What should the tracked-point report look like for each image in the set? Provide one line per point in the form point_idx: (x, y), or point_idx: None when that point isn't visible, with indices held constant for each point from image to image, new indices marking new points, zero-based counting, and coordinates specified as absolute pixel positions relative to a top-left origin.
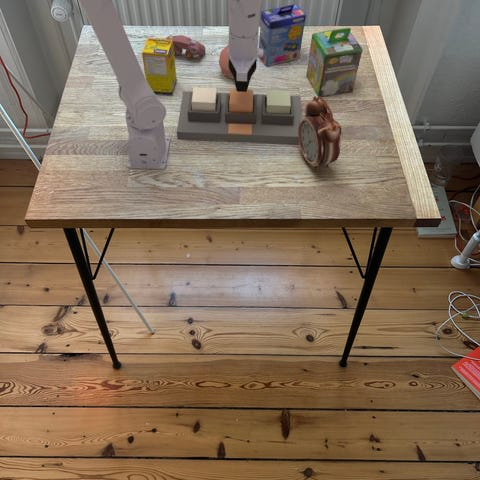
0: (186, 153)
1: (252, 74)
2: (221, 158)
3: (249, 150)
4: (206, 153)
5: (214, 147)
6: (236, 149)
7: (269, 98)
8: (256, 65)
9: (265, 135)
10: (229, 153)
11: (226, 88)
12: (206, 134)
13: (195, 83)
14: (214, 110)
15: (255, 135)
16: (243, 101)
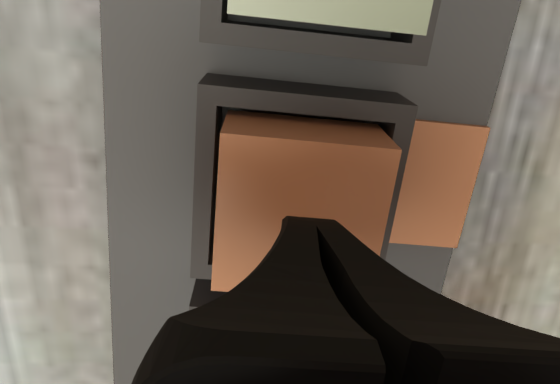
0: None
1: (485, 314)
2: (543, 254)
3: (523, 127)
4: (496, 309)
5: (466, 279)
6: (501, 188)
7: (343, 3)
8: (522, 357)
9: (508, 42)
10: (520, 220)
11: (19, 214)
12: None
13: (4, 350)
14: None
15: (492, 103)
16: (359, 213)
